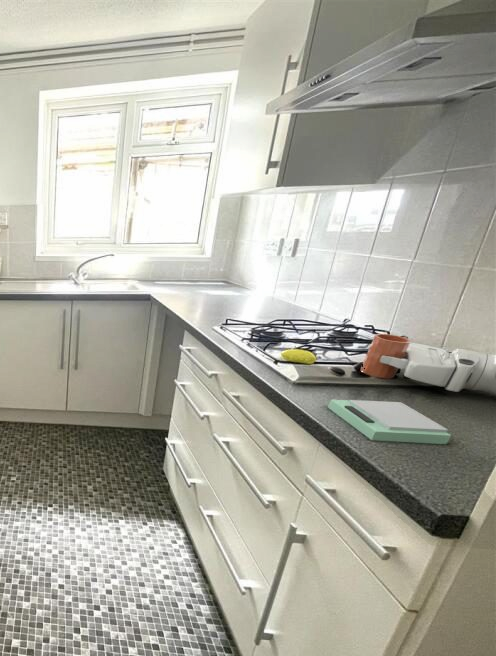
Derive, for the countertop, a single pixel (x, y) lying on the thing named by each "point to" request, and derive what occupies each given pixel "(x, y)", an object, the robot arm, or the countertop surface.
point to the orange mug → (384, 346)
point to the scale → (389, 421)
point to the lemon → (299, 356)
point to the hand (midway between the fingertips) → (380, 353)
